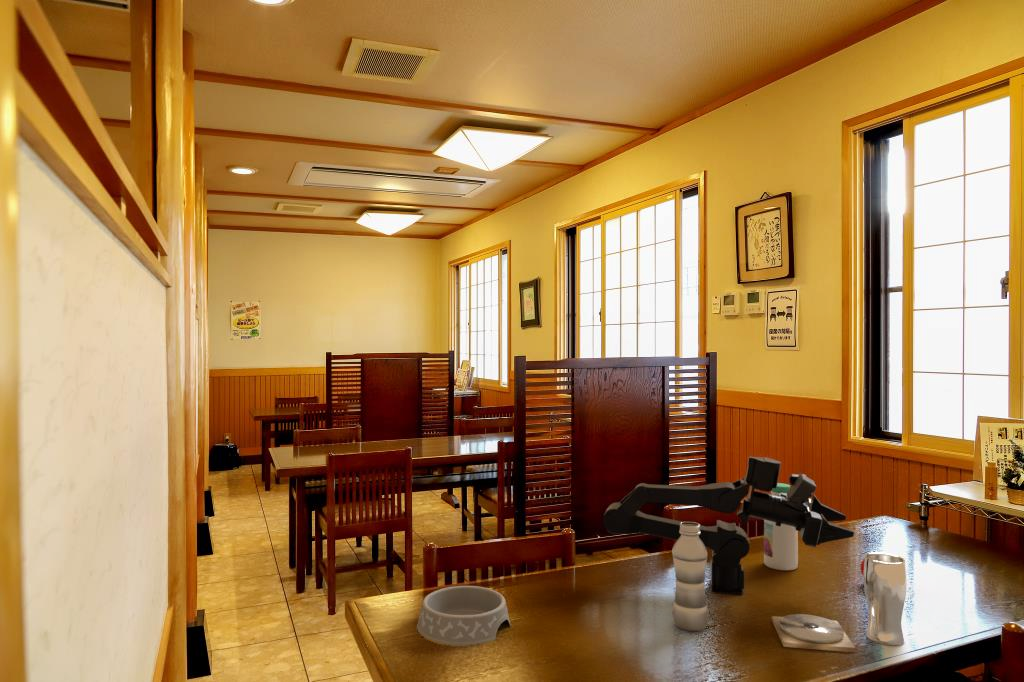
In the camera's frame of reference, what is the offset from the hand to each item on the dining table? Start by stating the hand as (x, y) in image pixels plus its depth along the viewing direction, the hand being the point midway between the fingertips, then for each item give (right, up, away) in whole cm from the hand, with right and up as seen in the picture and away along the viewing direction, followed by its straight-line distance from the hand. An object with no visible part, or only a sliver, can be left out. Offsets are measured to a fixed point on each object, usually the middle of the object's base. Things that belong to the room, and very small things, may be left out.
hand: (849, 525), depth 146 cm
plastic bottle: (-37, -16, -14) cm, 43 cm away
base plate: (-16, -16, -17) cm, 28 cm away
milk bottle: (-6, -16, +22) cm, 28 cm away
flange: (-16, -16, -17) cm, 28 cm away
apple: (+11, -16, +8) cm, 21 cm away
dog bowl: (-81, -16, -13) cm, 84 cm away
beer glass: (-3, -16, -19) cm, 25 cm away
